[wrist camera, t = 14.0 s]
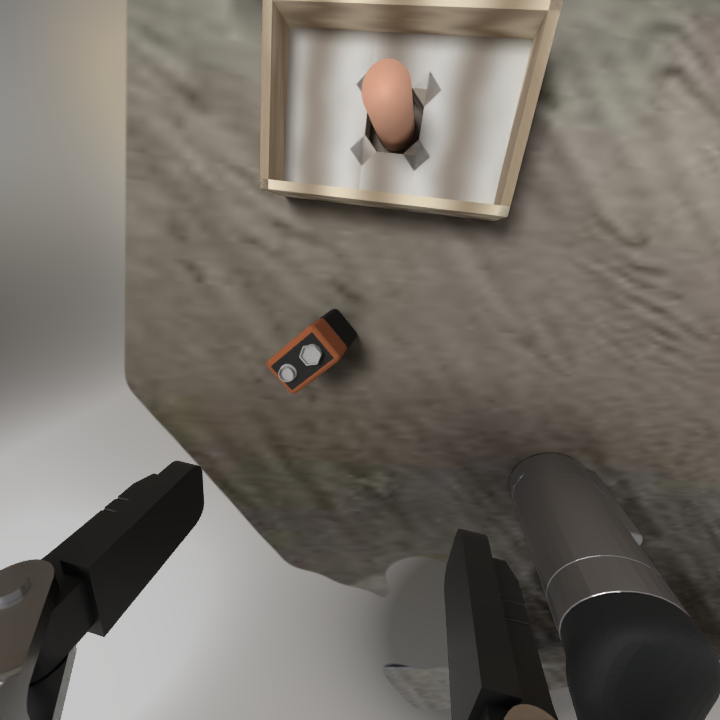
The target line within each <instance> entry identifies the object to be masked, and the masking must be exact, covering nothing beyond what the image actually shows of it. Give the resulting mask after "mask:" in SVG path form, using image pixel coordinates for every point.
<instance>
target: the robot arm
mask: <svg viewBox="0 0 720 720" xmlns="http://www.w3.org/2000/svg"><path fill="white" fill-rule="evenodd" d="M509 490H510V493H511V496H512V500H513V503H514V505H515V508H516V511H517V514H518V517H519V520H520V523H521V526H522V529H523V531H524V534H525V537H526V540H527V543H528V546H529V549H530V552H531V555H532V558H533V561H534V563H535V566H536V569H537V572H538V575H539V578H540V581H541V584H542V587H543V590H544V593H545V595H546V598H547V601H548V604H549V607H550V610H551V613H552V616H553V618H554V621H555V624H556V627H557V630H558V633H559V636H560V639H561V641H562V644H563V647H564V650H565V654H566V677H567V683H568V687H569V692H570V695H571V698H572V702H573V706H574V709H575V712H576V716H577V719H578V720H705V718H706V716H707V715H708V713H709V711H710V710H711V708H712V707H713V705H714V703H715V702H716V701H717V699H718V697H719V694H720V662H719V660H718V657H717V655H716V653H715V652H714V650H713V649H712V647H711V645H710V644H709V642H708V641H707V639H706V638H705V636H704V635H703V634H702V632H701V631H700V630H699V628H698V627H697V625H696V624H695V623H694V621H693V620H692V619H691V617H690V616H689V614H688V613H687V612H686V610H685V609H684V607H683V606H682V605H681V603H680V602H679V600H678V599H677V598H676V596H675V595H674V593H673V592H672V591H671V589H670V588H669V586H668V585H667V584H666V582H665V581H664V580H663V578H662V577H661V575H660V574H659V573H658V571H657V570H656V568H655V567H654V566H653V564H652V563H651V561H650V560H649V559H648V557H647V556H646V554H645V553H644V551H643V550H642V549H641V547H640V545H641V543H642V541H643V537H642V535H641V533H640V532H639V531H638V529H637V528H636V527H635V525H634V524H633V523H632V521H631V520H630V519H629V517H628V516H627V515H626V513H625V512H624V511H623V509H622V508H621V506H620V505H619V504H618V502H617V501H616V500H615V498H614V497H613V496H612V494H611V493H610V492H609V490H608V489H607V488H606V486H605V485H604V484H603V482H602V481H601V480H600V478H599V477H598V476H597V474H596V473H595V472H591V471H588V470H586V469H585V468H584V467H583V466H582V465H581V464H580V463H579V462H577V461H576V460H574V459H573V458H570V457H568V456H565V455H561V454H553V453H546V454H539V455H535V456H532V457H530V458H528V459H526V460H524V461H522V462H521V463H520V464H519V465H517V467H516V468H515V469H514V470H513V472H512V474H511V476H510V480H509ZM203 507H204V494H203V478H202V469H201V467H200V466H197V465H193V464H189V463H185V462H181V461H174V462H172V463H171V464H170V465H169V466H167V467H166V468H165V469H164V470H163V471H162V472H160V473H159V474H158V475H157V474H152V475H150V476H148V477H146V478H144V479H142V480H140V481H138V482H136V483H134V484H133V485H131V486H130V487H129V488H128V489H127V490H125V491H124V492H123V493H122V494H121V495H119V496H118V499H115V500H113V501H112V502H111V503H110V504H109V505H107V506H106V507H105V509H104V510H103V511H100V512H99V513H98V514H96V515H95V516H94V517H93V518H92V519H90V520H89V521H88V522H87V523H85V524H84V525H83V526H82V527H81V528H79V529H78V530H77V531H76V532H75V533H73V534H72V535H71V536H70V537H69V538H67V539H66V540H65V541H64V542H62V543H61V544H60V545H59V546H58V547H57V548H55V549H54V550H53V551H51V552H50V553H49V554H48V555H46V556H45V557H44V558H43V559H41V560H28V561H23V562H20V563H17V564H14V565H11V566H9V567H6V568H4V569H2V570H0V720H60V719H61V714H62V710H63V706H64V701H65V697H66V693H67V689H68V684H69V680H70V676H71V672H72V667H73V663H74V659H75V655H76V644H77V643H78V642H79V641H80V639H81V638H82V637H83V636H84V635H85V634H86V632H87V631H88V632H91V633H94V634H97V635H100V636H103V637H104V636H105V635H106V634H107V633H108V632H109V630H110V629H111V628H112V627H113V625H114V624H115V623H116V622H117V620H118V619H119V618H120V617H121V616H122V614H123V613H124V612H125V611H126V610H127V608H128V607H129V606H130V605H131V603H132V602H133V601H134V600H135V598H136V597H137V596H138V595H139V593H140V592H141V591H142V590H143V589H144V587H145V586H146V585H147V584H148V582H149V581H150V580H151V579H152V578H153V576H154V575H155V574H156V573H157V571H158V570H159V569H160V568H161V567H162V565H163V564H164V563H165V561H166V560H167V559H168V558H169V557H170V556H171V554H172V553H173V552H174V550H175V549H176V548H177V547H178V546H179V544H180V543H181V542H182V541H183V540H184V538H185V537H186V536H187V535H188V533H189V532H190V531H191V530H192V528H193V527H194V526H195V525H196V523H197V522H198V520H199V518H200V516H201V514H202V511H203ZM444 593H445V610H446V626H447V645H448V661H449V680H450V697H451V714H452V720H558V718H557V715H556V713H555V710H554V707H553V705H552V701H551V697H550V694H549V690H548V686H547V683H546V679H545V676H544V672H543V668H542V665H541V661H540V658H539V654H538V650H537V647H536V643H535V640H534V636H533V632H532V629H531V627H530V625H529V623H530V622H529V618H528V614H527V611H526V608H525V607H524V600H523V596H522V593H521V589H520V586H519V582H518V580H517V579H516V577H515V575H514V574H513V572H512V571H511V569H510V568H509V566H508V565H507V563H506V561H503V560H499V559H495V558H492V555H491V550H490V545H489V541H488V538H487V536H486V535H484V534H479V533H475V532H471V531H467V530H463V529H458V531H457V533H456V536H455V540H454V543H453V546H452V550H451V553H450V556H449V560H448V563H447V567H446V572H445V583H444Z"/></svg>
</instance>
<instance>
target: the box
mask: <svg viewBox="0 0 720 720" xmlns="http://www.w3.org/2000/svg"><path fill="white" fill-rule="evenodd" d="M562 3H563V0H263V3H262V77H261V151H260V188H261V189H264V190H267V191H270V192H273V193H276V194H279V195H282V196H285V197H292V198H301V199H309V200H318V201H326V202H335V203H343V204H351V205H360V206H368V207H377V208H385V209H394V210H402V211H411V212H419V213H427V214H436V215H444V216H453V217H461V218H470V219H478V220H487V221H496V220H499V219H502V218H506V217H508V213H509V210H510V206H511V202H512V198H513V194H514V190H515V186H516V182H517V178H518V174H519V171H520V167H521V163H522V159H523V155H524V151H525V147H526V143H527V139H528V136H529V132H530V128H531V124H532V120H533V116H534V112H535V108H536V104H537V101H538V97H539V93H540V89H541V85H542V81H543V77H544V73H545V69H546V65H547V62H548V58H549V54H550V50H551V46H552V42H553V38H554V34H555V30H556V27H557V23H558V19H559V15H560V11H561V7H562ZM387 58H391V59H395V60H398V61H400V62H401V63H402V64H403V65H404V66H405V67H406V68H407V70H408V72H409V75H410V78H411V85H412V97H413V100H414V102H415V103H416V105H417V107H418V108H419V110H420V111H421V113H422V114H423V117H422V124H421V130H420V136H419V140H418V141H417V142H416V143H414V144H413V145H412V146H411V147H410V148H409V149H408V150H407V151H406V152H405V153H403V154H396V153H385V152H376V150H375V149H374V147H373V146H372V144H371V143H370V141H369V138H370V129H371V120H370V117H369V115H368V113H367V111H366V108H365V106H364V104H363V100H362V93H361V90H362V83H363V79H364V77H365V75H366V73H367V71H368V70H369V69H370V67H371V66H372V65H373V64H375V63H376V62H378V61H380V60H382V59H387Z"/></svg>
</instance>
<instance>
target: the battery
mask: <svg viewBox="0 0 720 720" xmlns="http://www.w3.org/2000/svg"><path fill="white" fill-rule="evenodd" d="M356 335H357V334H356V332H355V331H354V330H353V329H352V327H351V326H350V325H349V324H348V323H347V321H346V320H345V319H344V318H343V316H342V315H341V314H340V313H339V311H338V310H337V309H332V310H331V311H329V312H328V313H326V314H325V315H324V316H322V317H321V318H319V319H318V320H317V321H315V322H314V323H312V324H311V325H310V326H308V327H307V328H306V329H305V330H303V331H302V332H301V333H300V334H299V335H298V336H296V337H295V338H294V339H293V340H292V341H290V342H289V343H288V344H287V345H286V346H284V347H283V348H282V349H281V350H280V351H279V352H277V353H276V354H275V355H274V356H273V357H271V358H270V359H269V360H268V362H267V366H268V368H269V369H270V370H271V371H272V372H273V373H274V374H275V376H276V377H277V378H278V379H279V380H280V381H281V382H282V384H283V385H284V386H285V387H286V388H287V389H288V390H289V391H290V392H291V393H292V394H295V393H297V392H298V391H300V390H301V389H302V388H304V387H305V386H306V385H308V384H309V383H310V382H312V381H313V380H314V379H316V378H317V377H318V376H320V375H321V374H322V373H324V372H325V371H326V370H327V369H329V368H330V367H331V366H333V365H334V364H335V363H337V362H338V361H339V360H340V358H341V357H342V356H343V354H344V353H345V352H346V350H347V349H348V348H349V346H350V345H351V343H352V342H353V341H354V339H355V338H356Z"/></svg>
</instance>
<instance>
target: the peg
mask: <svg viewBox="0 0 720 720" xmlns="http://www.w3.org/2000/svg"><path fill="white" fill-rule="evenodd" d="M361 93H362V100H363V104H364V106H365V108H366V111H367V113H368V115H369V117H370V120H371V122H372V124H373V127H374V129H375V131H376V134H377V136H378V138H379V140H380V142H381V144H382V145H383V146H384V147H385V148H386V149H388V150H390V151H400V150H402V149H404V148H405V147H407V146H408V145H409V143H410V142H411V140H412V138H413V136H414V132H415V121H414V109H413V97H412V85H411V78H410V75H409V72H408V70H407V68H406V67H405V66H404V65H403V64H402V63H401V62H400V61H398V60H395V59H391V58H387V59H382V60H380V61H378V62H376V63H375V64H373V65H372V66H371V67H370V69H369V70H368V71H367V73H366V75H365V77H364V79H363V83H362V90H361Z"/></svg>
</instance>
